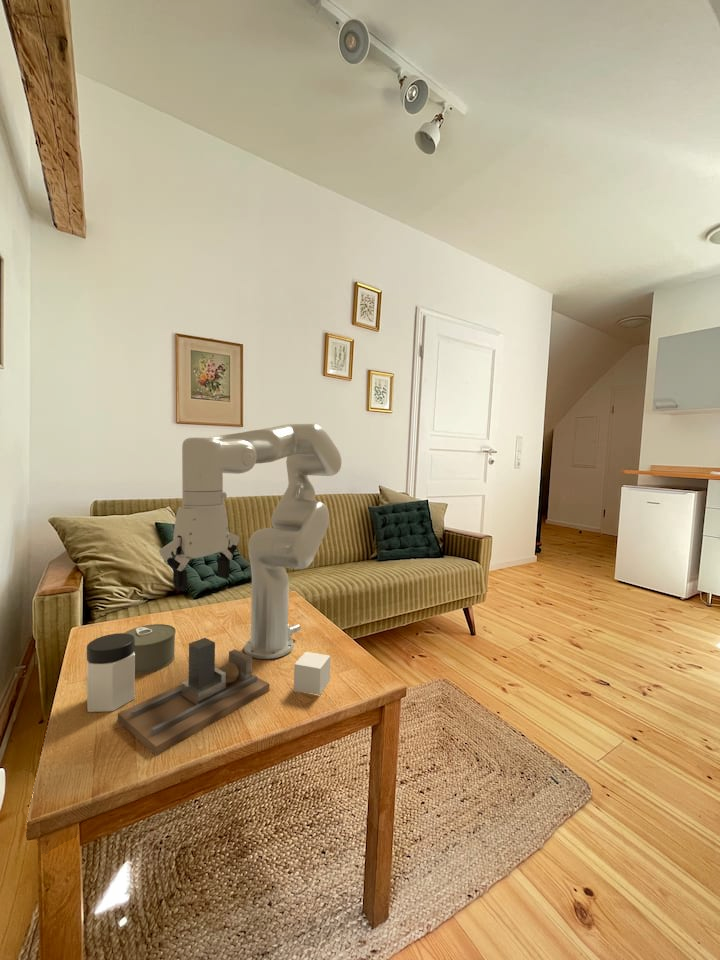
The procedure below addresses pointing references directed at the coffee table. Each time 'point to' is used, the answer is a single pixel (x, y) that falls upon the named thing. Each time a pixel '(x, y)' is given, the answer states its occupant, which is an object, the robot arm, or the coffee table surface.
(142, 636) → the can
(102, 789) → the coffee table surface
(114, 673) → the jar
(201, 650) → the handle
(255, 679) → the board
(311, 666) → the white cube
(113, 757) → the coffee table surface
